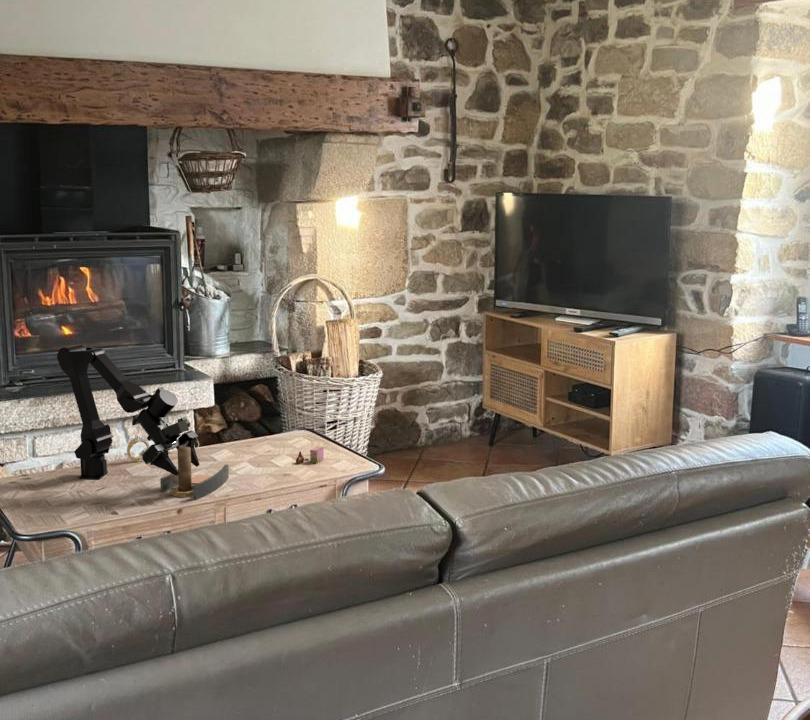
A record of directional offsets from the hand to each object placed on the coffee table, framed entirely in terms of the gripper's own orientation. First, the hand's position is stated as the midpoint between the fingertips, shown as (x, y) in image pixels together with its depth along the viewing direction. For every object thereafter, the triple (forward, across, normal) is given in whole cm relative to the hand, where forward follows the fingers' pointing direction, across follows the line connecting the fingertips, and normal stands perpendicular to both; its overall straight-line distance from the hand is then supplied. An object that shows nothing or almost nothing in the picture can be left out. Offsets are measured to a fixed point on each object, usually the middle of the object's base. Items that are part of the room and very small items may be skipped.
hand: (188, 470), depth 272 cm
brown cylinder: (+4, 0, +6) cm, 7 cm away
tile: (+2, +12, +7) cm, 14 cm away
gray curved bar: (+3, +5, +6) cm, 9 cm away
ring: (-18, +18, +28) cm, 38 cm away
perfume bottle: (+17, +41, -6) cm, 45 cm away
